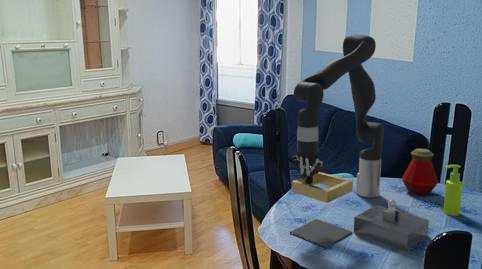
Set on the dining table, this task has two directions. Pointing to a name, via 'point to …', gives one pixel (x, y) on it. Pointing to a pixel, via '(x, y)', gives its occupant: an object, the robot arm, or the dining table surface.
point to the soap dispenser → (453, 192)
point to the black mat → (321, 232)
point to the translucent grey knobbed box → (391, 226)
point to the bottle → (420, 173)
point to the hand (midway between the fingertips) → (306, 184)
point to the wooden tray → (325, 195)
